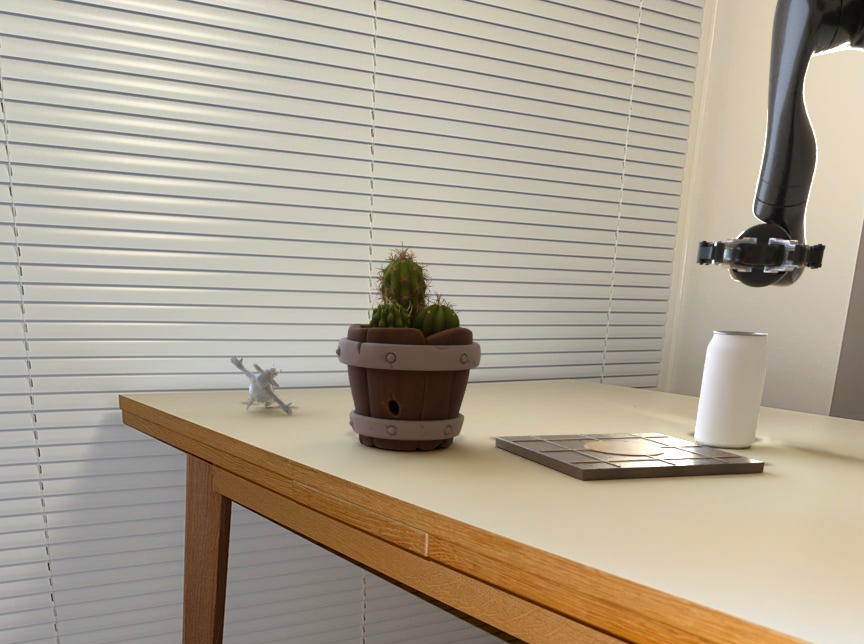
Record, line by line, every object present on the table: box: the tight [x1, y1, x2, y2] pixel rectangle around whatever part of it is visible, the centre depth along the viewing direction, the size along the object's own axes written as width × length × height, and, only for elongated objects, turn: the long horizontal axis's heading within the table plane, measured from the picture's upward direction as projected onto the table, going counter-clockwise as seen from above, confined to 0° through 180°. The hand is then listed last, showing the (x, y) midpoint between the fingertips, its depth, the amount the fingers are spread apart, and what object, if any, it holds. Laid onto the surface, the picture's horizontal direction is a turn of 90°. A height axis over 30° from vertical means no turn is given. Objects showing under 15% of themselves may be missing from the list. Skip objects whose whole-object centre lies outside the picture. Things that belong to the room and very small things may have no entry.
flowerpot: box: [335, 242, 482, 451], centre depth 98 cm, size 14×15×20 cm
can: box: [693, 330, 770, 450], centre depth 106 cm, size 6×6×12 cm
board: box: [494, 432, 765, 481], centre depth 97 cm, size 20×18×1 cm
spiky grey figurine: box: [230, 355, 294, 415], centre depth 121 cm, size 10×6×9 cm
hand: (757, 253), depth 111 cm, fingers open, 8 cm apart
